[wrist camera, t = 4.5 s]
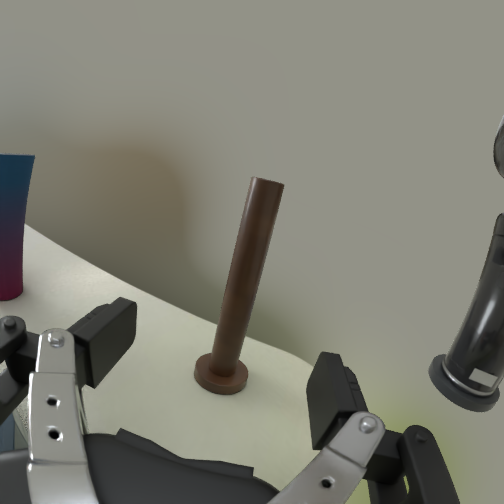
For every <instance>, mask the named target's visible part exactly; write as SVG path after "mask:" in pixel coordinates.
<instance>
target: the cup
mask: <svg viewBox="0 0 504 504" xmlns="http://www.w3.org/2000/svg"><path fill="white" fill-rule="evenodd" d="M34 159H35V155H29V154H12V153H0V300H10V299H13V298H16V297H18V296H19V295H20V294H21V293H22V291H23V237H24V223H25V213H26V204H27V197H28V191H29V184H30V179H31V173H32V168H33V163H34Z"/></svg>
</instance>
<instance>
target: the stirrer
mask: <svg viewBox="0 0 504 504" xmlns="http://www.w3.org/2000/svg"><path fill="white" fill-rule="evenodd" d="M283 189H284V184H281V183H278V182H274V181H270V180H266V179H262V178H257V177H252V178H251V182H250V186H249V190H248V194H247V198H246V202H245V207H244V211H243V215H242V219H241V224H240V228H239V232H238V236H237V241H236V245H235V249H234V254H233V258H232V263H231V267H230V271H229V276H228V280H227V285H226V289H225V294H224V298H223V303H222V307H221V312H220V317H219V321H218V326H217V330H216V335H215V340H214V344H213V349H212V353H208V354H205V355H203V356H201V357H200V358H199V359H198V360H197V361H196V365H195V371H194V376H195V379H196V380H197V382H198V383H199V384H200V385H201V386H202V387H203V388H205V389H207V390H208V391H211V392H214V393H217V394H233V393H236V392H239V391H240V390H241V389H243V388H244V386H245V384H246V381H247V378H248V370H247V368H246V366H245V365H244V364H243V363H242V362H241V361H240V360H239V356H240V353H241V349H242V345H243V342H244V338H245V334H246V331H247V327H248V323H249V320H250V316H251V312H252V309H253V305H254V301H255V297H256V293H257V290H258V286H259V282H260V278H261V275H262V271H263V267H264V263H265V259H266V256H267V252H268V248H269V244H270V240H271V236H272V232H273V228H274V224H275V220H276V217H277V213H278V209H279V205H280V201H281V197H282V193H283Z"/></svg>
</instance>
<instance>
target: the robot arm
mask: <svg viewBox="0 0 504 504" xmlns="http://www.w3.org/2000/svg"><path fill="white" fill-rule="evenodd" d="M494 162H495V166H496V168H497V170H498V172H499V174H500V175H501V176H502V177H503V178H504V116H503V118H502V120H501V123H500V125H499V128H498V130H497V134H496V138H495V143H494ZM136 319H137V304H136V302H134V301H131V300H128V299H125V298H122V297H119V298H118V299H116V300H115V301H114V302H112V303H111V304H104V305H101V306H98V307H96V308H95V309H94V310H92V311H91V312H90V313H88V314H87V315H85V317H83V318H81V319H80V320H79V321H77V322H76V323H75V324H73V325H72V326H71V327H70V328H68V329H67V330H64V329H58V328H54V329H49V330H46V331H44V332H43V333H42V334H41V335H38V334H34V333H31V332H28V331H27V330H26V325H25V322H24V320H23V319H21V318H20V317H17V316H6V317H3V318H1V319H0V364H1V363H2V362H3V361H4V360H5V362H6V365H7V368H6V369H5V370H4V371H3V372H2V373H1V374H0V426H1V425H2V424H3V423H4V421H5V420H6V419H7V418H8V417H9V415H10V414H11V413H12V412H13V411H14V410H15V408H16V407H17V406H18V405H19V404H20V403H21V402H22V401H23V399H24V398H25V397H26V396H27V395H28V446H29V447H28V448H23V449H17V450H10V451H3V452H0V504H345V502H346V501H347V500H348V498H349V497H350V495H351V494H352V492H353V491H354V490H355V488H356V487H357V485H358V484H359V482H360V481H361V479H366V480H367V482H368V489H369V495H370V502H371V504H460V502H459V499H458V496H457V493H456V490H455V488H454V485H453V482H452V479H451V477H450V474H449V472H448V469H447V466H446V464H445V462H444V459H443V457H442V454H441V452H440V449H439V447H438V445H437V443H436V440H435V438H434V436H433V434H432V433H431V432H430V431H429V430H428V429H426V428H425V427H422V426H419V425H412V426H409V427H408V428H407V429H406V430H405V431H404V433H403V434H402V433H398V432H394V431H390V430H386V429H385V425H384V423H383V421H382V420H381V419H380V418H379V417H378V416H376V415H375V414H372V413H370V412H369V411H368V408H367V406H366V403H365V401H364V397H363V395H362V392H361V391H360V390H361V389H360V386H359V385H358V381H357V378H356V376H355V374H354V373H353V372H352V371H351V370H350V369H349V367H344V366H343V362H342V360H341V357H340V355H339V354H334V353H329V352H321V353H320V355H319V358H318V360H317V362H316V364H315V366H314V369H313V371H312V373H311V375H310V378H309V380H308V383H307V388H306V394H307V402H308V411H309V419H310V429H311V438H312V448H313V450H321V451H320V453H319V454H318V455H317V456H316V457H315V458H314V459H313V460H312V461H311V462H310V463H309V464H308V465H307V466H306V468H305V469H304V470H303V471H302V472H301V473H300V474H299V475H298V476H297V477H296V478H294V479H293V480H292V481H291V482H290V483H289V484H288V485H287V486H286V487H285V488H284V489H283V490H282V491H281V492H280V491H279V490H278V489H276V488H275V487H273V486H272V485H270V484H269V483H267V482H265V481H263V480H261V479H259V478H257V477H254V476H253V471H254V467H248V466H243V465H237V464H232V463H227V462H223V461H211V460H195V459H184V458H181V457H179V456H177V455H175V454H173V453H172V452H170V451H168V450H166V449H164V448H163V447H161V446H159V445H158V444H156V443H154V442H153V441H151V440H149V439H146V438H143V437H141V436H138V435H136V434H134V433H131V432H129V431H126V430H124V429H122V428H120V429H119V431H118V433H117V434H116V435H111V434H102V433H93V434H90V433H89V429H88V424H87V419H86V413H85V407H84V400H83V393H82V387H83V386H84V385H85V384H86V385H88V386H90V387H92V388H94V389H95V388H96V387H97V386H98V385H99V383H100V382H101V381H102V380H103V379H104V377H105V376H106V375H107V374H108V373H109V371H110V370H111V369H112V368H113V367H114V365H115V364H116V363H117V362H118V361H119V360H120V358H121V357H122V356H123V355H124V354H125V352H126V351H127V350H128V349H129V348H130V347H131V345H132V344H133V342H134V339H135V335H136ZM441 370H442V372H443V374H444V375H445V377H446V378H447V379H448V380H449V381H450V382H451V383H452V384H453V385H454V386H456V387H457V388H458V389H460V390H461V391H463V392H465V393H467V394H469V395H471V396H474V397H478V398H487V397H490V396H491V395H492V394H493V392H494V391H495V389H497V387H498V386H499V384H500V382H501V381H502V379H503V378H504V213H501V214H500V215H499V216H498V217H497V219H496V223H495V227H494V232H493V236H492V240H491V244H490V247H489V251H488V255H487V258H486V261H485V265H484V268H483V271H482V274H481V277H480V280H479V283H478V285H477V288H476V291H475V294H474V296H473V299H472V301H471V304H470V306H469V308H468V311H467V313H466V316H465V318H464V320H463V322H462V324H461V327H460V329H459V331H458V333H457V335H456V337H455V339H454V341H453V343H452V345H451V347H450V349H449V351H448V353H447V354H446V356H445V357H444V359H443V360H442V362H441ZM405 475H406V477H407V481H408V485H409V493H408V494H407V490H406V486H405V482H404V478H403V477H404V476H405Z"/></svg>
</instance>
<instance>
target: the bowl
mask: <svg viewBox="0 0 504 504" xmlns="http://www.w3.org/2000/svg"><path fill="white" fill-rule="evenodd" d="M28 447H29V446H28V431H27V429H26V427H25V425H24V423H23V421H22V419H21V417H20V415H19V413H18V411H17V409H16V408H15V410H14V411H13V412H12V413H11V414H10V415H9V417H8V418H7V419H6V420H5V421H4V423H3V424H2V425H1V426H0V452H3V451H10V450H17V449H23V448H28Z"/></svg>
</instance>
